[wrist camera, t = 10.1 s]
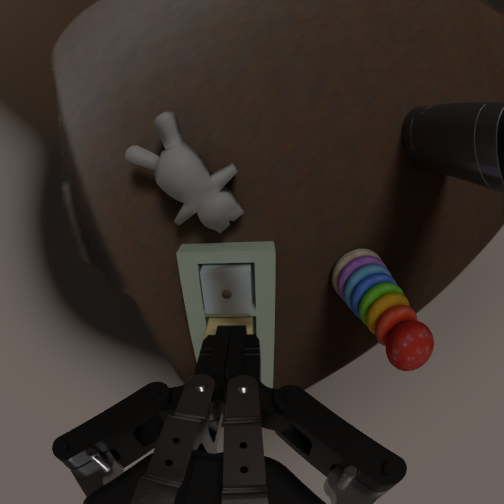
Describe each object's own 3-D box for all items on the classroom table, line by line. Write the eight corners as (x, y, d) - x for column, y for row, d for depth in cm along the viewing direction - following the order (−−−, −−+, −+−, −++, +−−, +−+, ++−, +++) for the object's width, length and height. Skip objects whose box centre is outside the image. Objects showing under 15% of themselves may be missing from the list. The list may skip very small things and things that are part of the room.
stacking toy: (348, 305, 39) (393, 401, 22) (319, 270, 37) (364, 370, 20) (388, 273, 37) (455, 356, 20) (364, 235, 35) (440, 313, 18)
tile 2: (252, 317, 37) (252, 336, 33) (253, 348, 39) (253, 368, 35) (209, 317, 37) (205, 336, 33) (213, 348, 39) (210, 368, 35)
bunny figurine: (202, 254, 32) (109, 166, 26) (205, 236, 36) (124, 158, 30) (264, 201, 29) (167, 101, 23) (259, 189, 34) (176, 103, 28)
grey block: (250, 257, 36) (250, 271, 32) (252, 296, 38) (252, 313, 34) (205, 258, 36) (199, 273, 32) (209, 297, 38) (205, 314, 34)
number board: (273, 241, 35) (275, 250, 33) (271, 377, 45) (272, 390, 43) (182, 244, 35) (176, 253, 33) (205, 378, 46) (203, 390, 43)
